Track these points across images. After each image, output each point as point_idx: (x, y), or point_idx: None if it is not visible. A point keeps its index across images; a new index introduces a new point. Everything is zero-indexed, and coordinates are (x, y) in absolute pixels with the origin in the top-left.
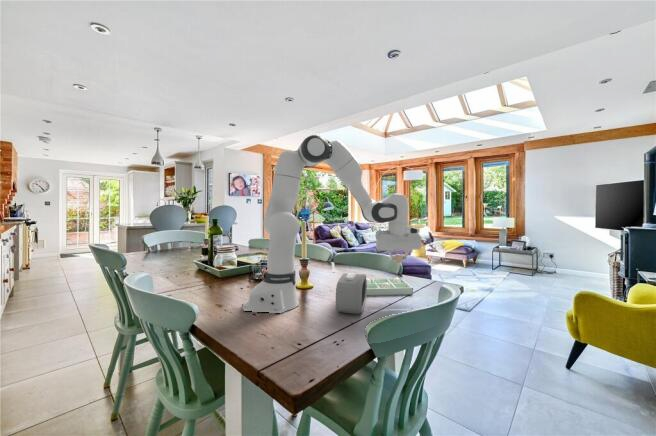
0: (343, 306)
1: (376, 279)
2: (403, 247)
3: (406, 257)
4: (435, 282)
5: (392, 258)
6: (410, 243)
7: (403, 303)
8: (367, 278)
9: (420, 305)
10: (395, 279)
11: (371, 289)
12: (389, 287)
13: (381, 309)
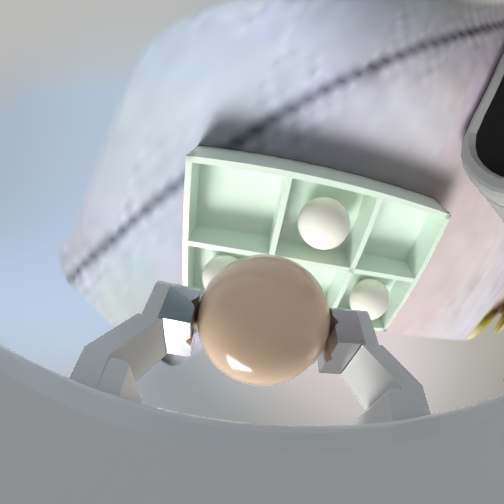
0: None
1: None
2: (175, 462)
3: (157, 298)
4: (65, 274)
5: (358, 322)
6: (7, 470)
7: (305, 53)
8: (370, 314)
9: (231, 14)
10: None
11: (418, 202)
12: (314, 204)
13: (433, 40)
